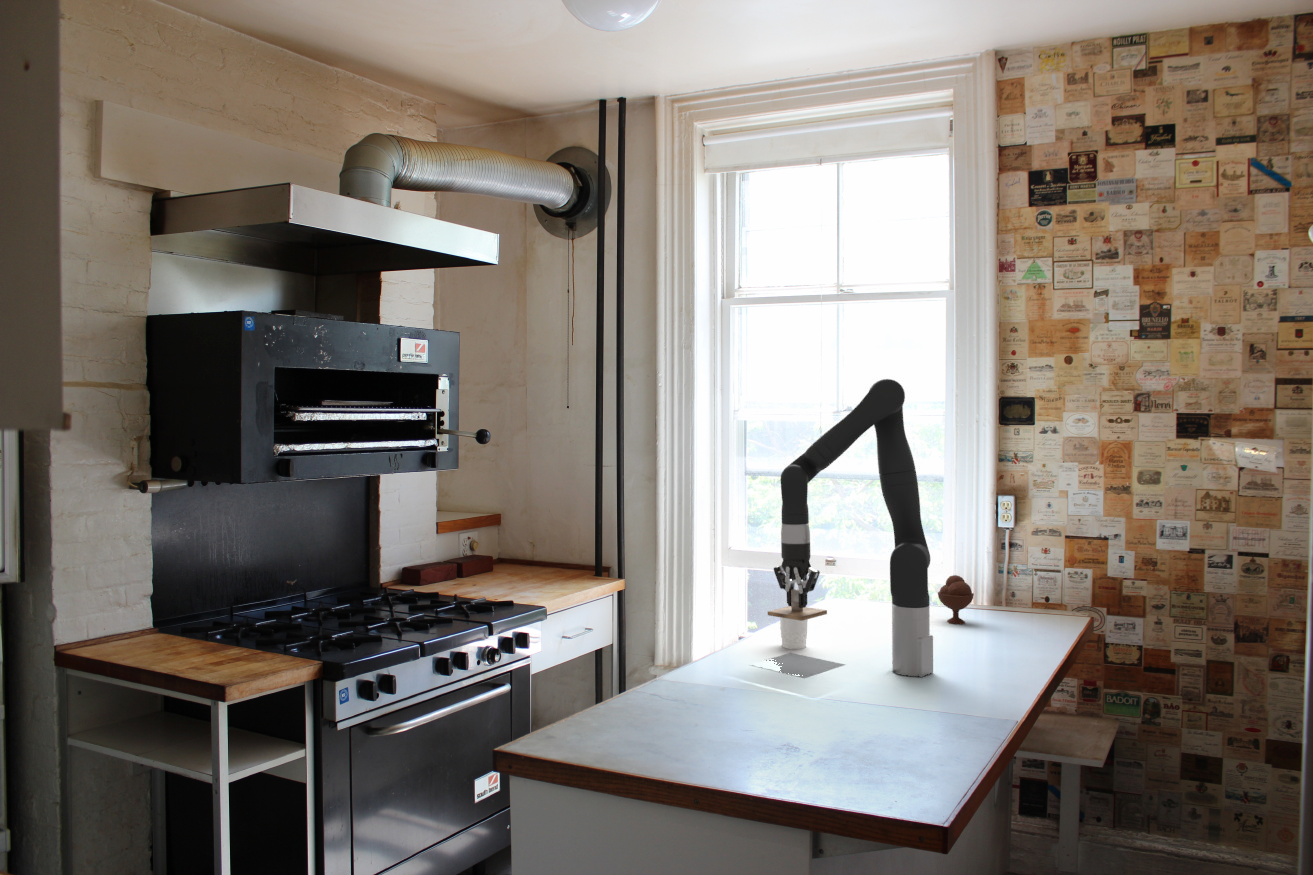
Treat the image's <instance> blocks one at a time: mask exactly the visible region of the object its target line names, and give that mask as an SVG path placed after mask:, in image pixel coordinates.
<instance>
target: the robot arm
mask: <svg viewBox="0 0 1313 875" xmlns="http://www.w3.org/2000/svg"><path fill="white" fill-rule="evenodd" d="M905 400H906V393H905V389H904V388H903V386H902V385H901V383H899V382H898V381H896V380H894V379H890V378H884V379H880V380H877V381H876V382H875V383H873V384H872V385H871V387H869V390H868V392H867V393H866V395H865V396H864V397H863V398H862V400H861V401H859V403H858V404H857V405H856V406H855V407H854V408H853V409H852V410H851V411H850V412H848V414H847V415H846V416H845V417H843V418H842V419H841V420H840V421H839V422H837V423H836V424H835V425H833V426H832V427H831V428H829V430H827V431H826V432H825V433H824V434H822V435H821V436H820V437H819V438H817V439H816V440H815V441H814V442H813V443H812V444H811V445H810V446H809V447H808V448H807V449H806V450H805V452H803V453H802V454H800V455H799V456H798V457H797V458H796V459H795V460H794V461H792V462H791V463H790V464H788V465H787V466H786V467H785V468H784V469H783V470H782V471H781V474H780V491H781V502H782V504H781V530H780V537H781V538H780V540H781V541H780V542H781V544H780V545H781V548H780V549H781V552H780V554H781V559H782V562H781V565H778V566H775V567H773V571H774V574H775V578H776V580H777V583H778V586H779V588H780V590H785V592H786V604H787V607H788V606H791V589H796V588H795V587H796V585H797V587H798V588H797V589H799V593H800V594H799V607H800V608H804V607H807V606H808V593H810V592H813V591H814V590H815V587H816V586H817V585H816V584H817V581H818V579H819V576H820V573H821V572H820V570H819V569H816V570H815V569H814V568H812V566H811V563H810V558H811V531H810V524H809V523H810V521H809V520H810V516H809V515H810V514H809V505H808V490H809V487H808V486H809V485H808V484H809V483H810V482H811V481H812V480H813V479H814V478H815V477H817V476H818V474H820V472H822V471H824V470H825V469H827V468H829V466H830V465H832V463H834V462H835V461H836V460H838V458H840V456H841V457H842V455H843V454H844V453H845V452H846V451H847V450H848V449H849V448H850V447H851V446H853V444H854V443H855V442H856V441H857V440H858V439H859V438H860V437H861V436H862V435H863V434H864V433H866V432H867V431H868V430H869V429H871V427H874V431H875V436H876V452H877V454H876V455H877V468H878V477H879V482H880V487H881V488H880V489H881V492H882V497H883V501H884V503H885V506H886V508H887V511H888V513H889V516H890V519H891V522H892V529H893V536H894V537H893V538H894V549H893V551H892V552H891V554H890V559H889V578H890V579H889V580H890V581H889V582H890V583H889V586H890V587H889V588H890V596H891V639H892V641H891V643H892V644H891V649H892V650H891V651H892V652H891V653H892V654H891V655H892V662H891V663H892V668H891V669H892V672H893V673H894V674H897V673H898V675H900V674H901V676H906V675H908V677H918V676H919V677H920V678H923V677H926V676H927V674H928V675H931V674H933V673H934V636H933V635H932V634H930V632H931V631H930V630H931V629H930V626H931V625H930V614H931V613H930V593H929V581H928V580H929V578H928V576H929V575H928V574H929V573H928V572H929V571H928V570H929V568H930V564H931V554H930V551H929V550H930V549H929V547H928V543H927V540H926V536H925V533H924V529H923V523H922V517H921V515H922V514H921V502H920V491H919V483H918V476H917V471H916V465H915V461H914V457H913V454H912V450H911V447H910V445H909V442H908V441H909V440H908V439H907V435H906V432H905V430H906V429H905V424H904V409H903V408H904V407H903V406H904V404H905ZM930 673H931V674H930ZM925 675H926V676H925Z"/></svg>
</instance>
